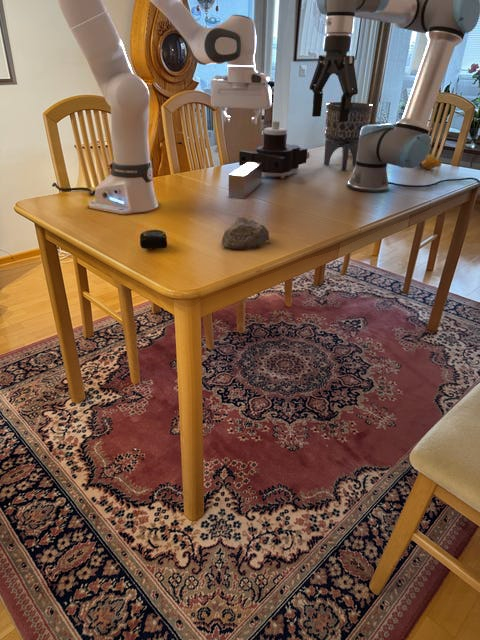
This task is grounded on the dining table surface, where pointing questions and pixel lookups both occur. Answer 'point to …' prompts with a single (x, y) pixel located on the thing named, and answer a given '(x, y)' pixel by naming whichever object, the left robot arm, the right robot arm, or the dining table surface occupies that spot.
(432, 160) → the toy
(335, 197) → the dining table surface
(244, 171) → the bar
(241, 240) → the rock
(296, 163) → the mechanical component
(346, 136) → the planter
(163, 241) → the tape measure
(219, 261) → the dining table surface
